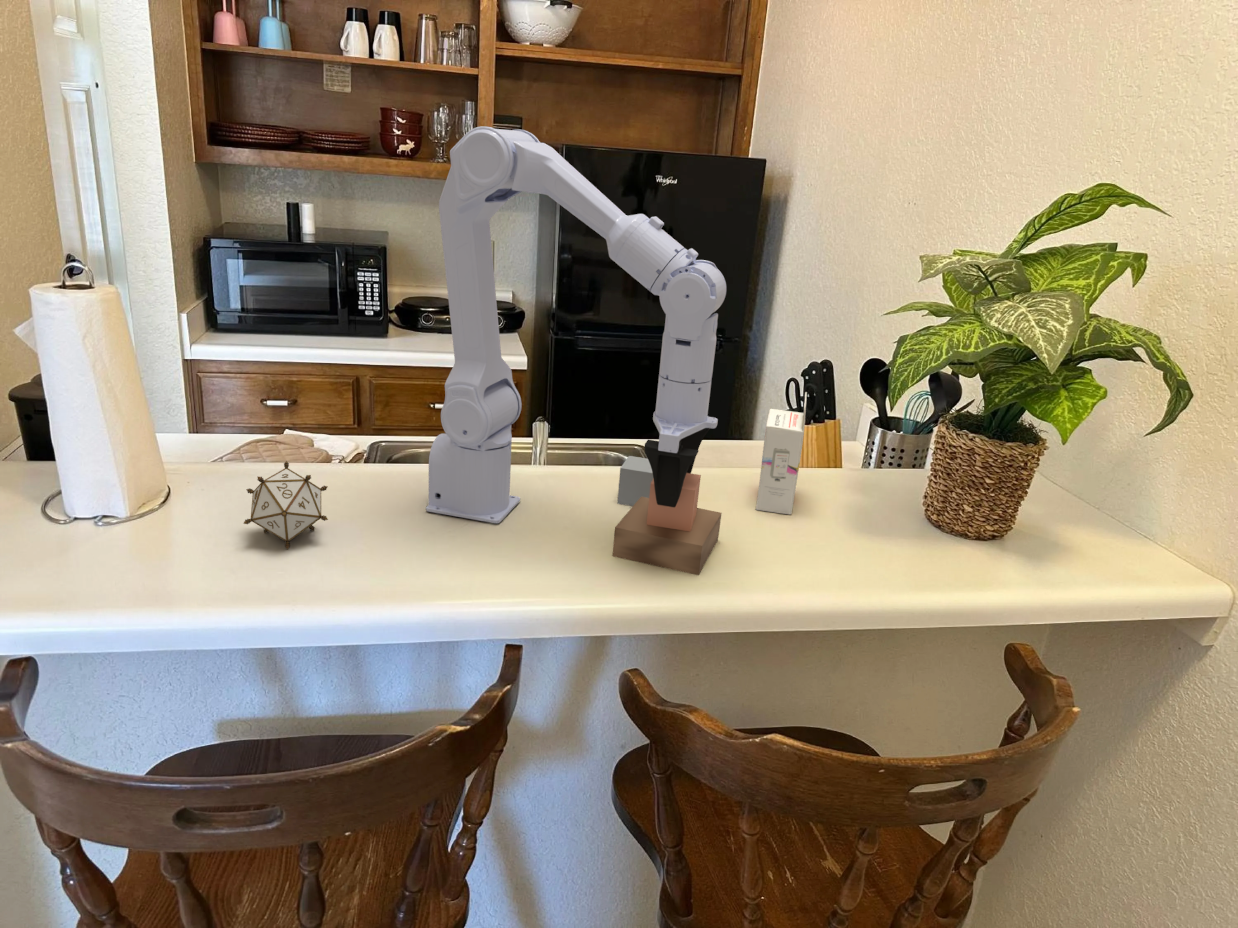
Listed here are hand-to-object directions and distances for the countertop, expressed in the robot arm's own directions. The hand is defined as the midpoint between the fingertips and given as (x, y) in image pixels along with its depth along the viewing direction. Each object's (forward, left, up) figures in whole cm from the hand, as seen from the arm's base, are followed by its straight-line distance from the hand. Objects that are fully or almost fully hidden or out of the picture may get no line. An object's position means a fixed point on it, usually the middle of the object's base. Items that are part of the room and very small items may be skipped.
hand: (672, 492), depth 99 cm
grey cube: (-6, +13, -7) cm, 16 cm away
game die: (-40, -14, -7) cm, 43 cm away
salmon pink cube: (0, 0, -3) cm, 3 cm away
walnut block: (0, 0, -7) cm, 7 cm away
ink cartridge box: (+11, +20, -7) cm, 24 cm away
